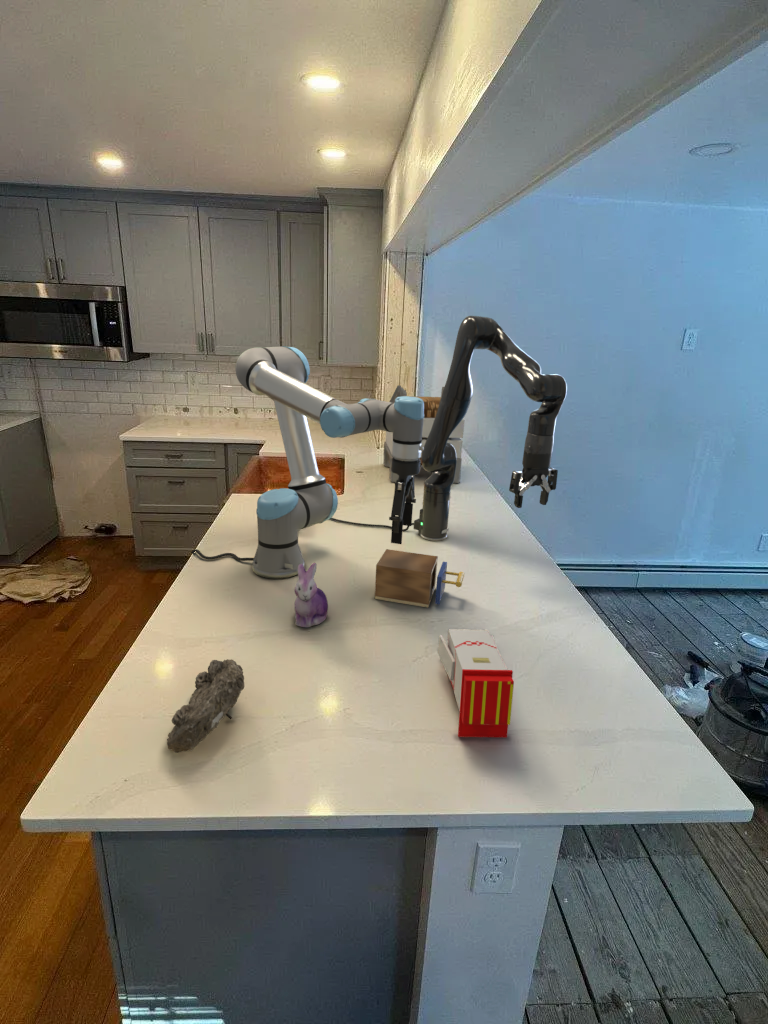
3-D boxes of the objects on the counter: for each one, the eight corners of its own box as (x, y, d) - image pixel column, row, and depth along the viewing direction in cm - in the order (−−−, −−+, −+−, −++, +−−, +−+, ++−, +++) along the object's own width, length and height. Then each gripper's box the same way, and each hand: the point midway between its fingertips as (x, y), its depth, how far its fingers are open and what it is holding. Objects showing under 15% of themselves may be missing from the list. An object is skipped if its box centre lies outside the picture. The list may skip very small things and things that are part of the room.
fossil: (192, 660, 117) (244, 628, 112) (224, 691, 120) (276, 661, 115) (142, 746, 98) (202, 712, 93) (182, 779, 101) (242, 748, 96)
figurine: (299, 632, 137) (299, 576, 132) (286, 613, 145) (285, 559, 140) (336, 624, 141) (336, 570, 136) (320, 605, 149) (321, 553, 144)
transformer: (382, 463, 289) (386, 382, 275) (445, 464, 293) (451, 384, 279) (390, 482, 257) (394, 392, 243) (460, 483, 261) (468, 394, 247)
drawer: (463, 590, 159) (465, 564, 156) (458, 607, 150) (461, 580, 147) (398, 580, 163) (399, 555, 160) (390, 596, 154) (391, 569, 151)
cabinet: (435, 588, 162) (437, 556, 158) (428, 607, 151) (431, 573, 148) (384, 581, 165) (386, 549, 162) (374, 598, 155) (376, 565, 151)
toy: (488, 613, 130) (523, 677, 101) (484, 667, 133) (517, 744, 104) (435, 612, 130) (455, 676, 101) (432, 666, 133) (451, 743, 103)
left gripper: (411, 471, 134) (406, 553, 142) (428, 448, 157) (423, 520, 165) (380, 468, 136) (377, 549, 143) (401, 446, 159) (397, 516, 166)
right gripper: (550, 445, 160) (542, 499, 165) (508, 447, 154) (501, 503, 160) (568, 451, 154) (559, 507, 159) (525, 454, 148) (517, 512, 153)
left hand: (401, 533), depth 154 cm, fingers open, 13 cm apart
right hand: (530, 505), depth 159 cm, fingers open, 8 cm apart
